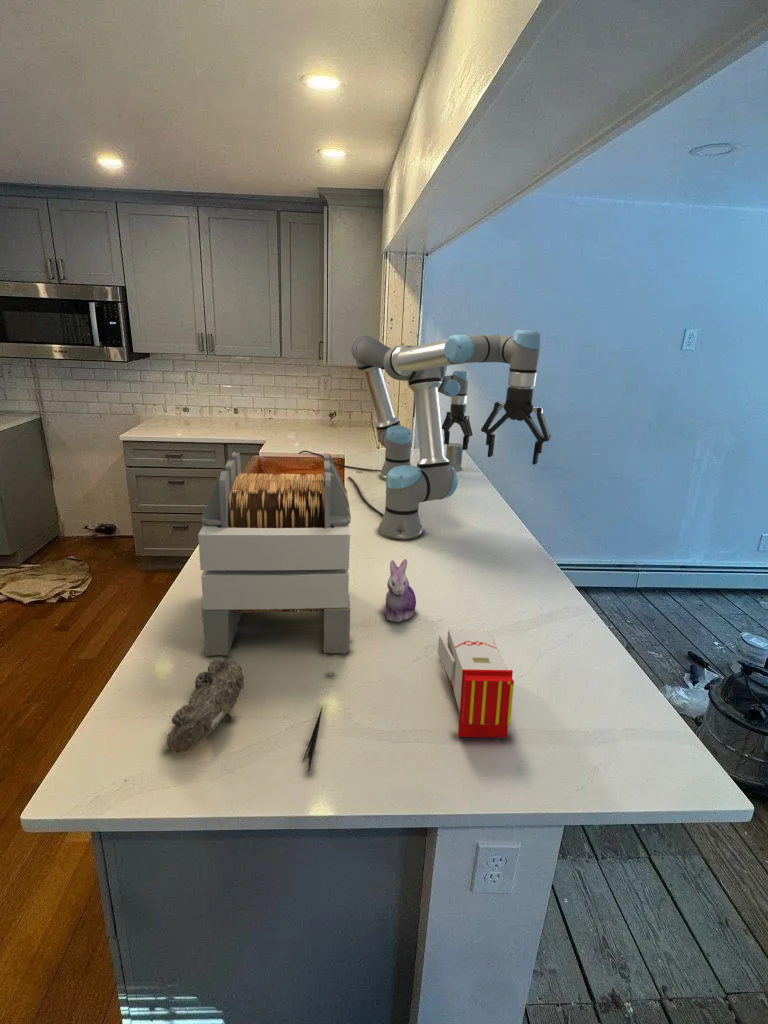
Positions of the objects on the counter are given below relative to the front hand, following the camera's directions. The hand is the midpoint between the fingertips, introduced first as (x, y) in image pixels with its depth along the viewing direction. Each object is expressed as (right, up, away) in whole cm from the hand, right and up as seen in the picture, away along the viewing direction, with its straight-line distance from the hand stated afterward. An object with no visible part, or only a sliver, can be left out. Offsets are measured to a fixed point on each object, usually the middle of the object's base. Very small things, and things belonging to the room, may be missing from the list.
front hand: (512, 460), depth 168 cm
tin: (-3, +6, +118) cm, 118 cm away
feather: (-50, -55, -59) cm, 95 cm away
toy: (-20, -53, -49) cm, 75 cm away
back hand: (-2, +17, +114) cm, 115 cm away
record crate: (-64, -42, -25) cm, 80 cm away
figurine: (-34, -42, -21) cm, 58 cm away
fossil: (-71, -54, -60) cm, 107 cm away
